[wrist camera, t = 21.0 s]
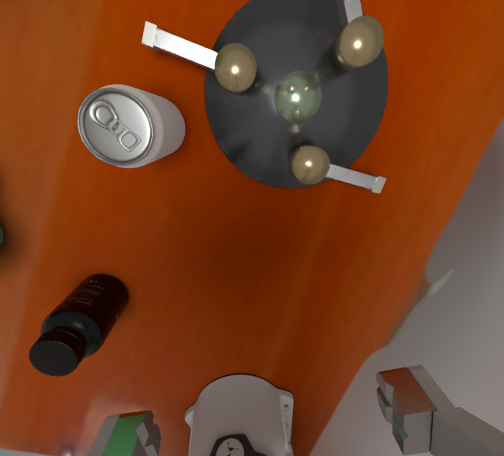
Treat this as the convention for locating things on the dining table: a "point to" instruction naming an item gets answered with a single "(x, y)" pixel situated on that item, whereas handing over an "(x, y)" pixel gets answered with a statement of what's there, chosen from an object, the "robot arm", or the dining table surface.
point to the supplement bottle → (78, 325)
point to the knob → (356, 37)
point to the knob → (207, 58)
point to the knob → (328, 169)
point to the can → (129, 126)
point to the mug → (1, 235)
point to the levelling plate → (293, 92)
